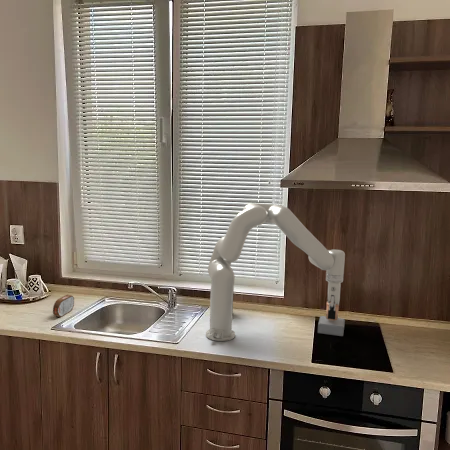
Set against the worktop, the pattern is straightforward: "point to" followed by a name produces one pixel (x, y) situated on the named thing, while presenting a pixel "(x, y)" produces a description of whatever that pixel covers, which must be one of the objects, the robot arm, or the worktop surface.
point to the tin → (63, 305)
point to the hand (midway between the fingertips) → (331, 316)
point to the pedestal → (331, 326)
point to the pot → (335, 310)
